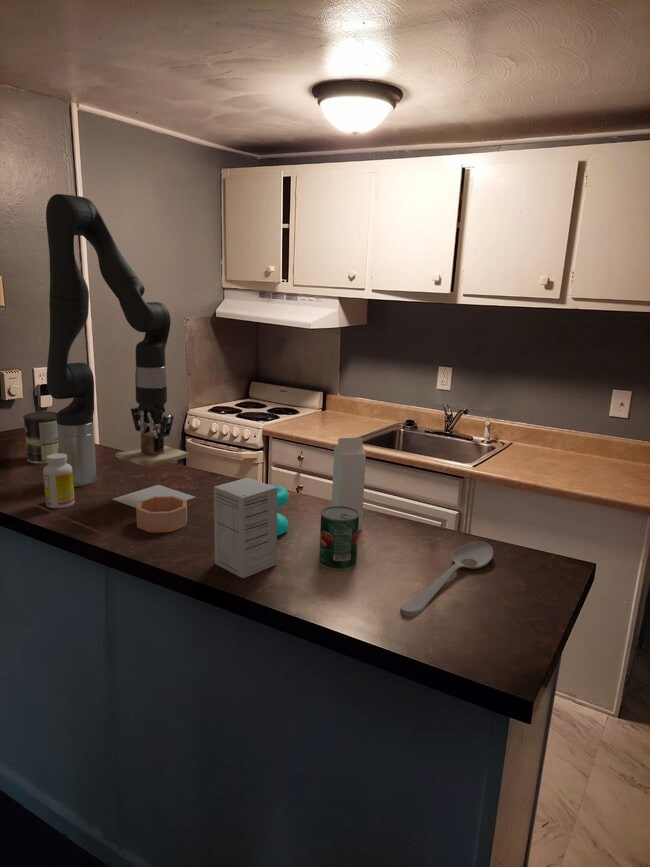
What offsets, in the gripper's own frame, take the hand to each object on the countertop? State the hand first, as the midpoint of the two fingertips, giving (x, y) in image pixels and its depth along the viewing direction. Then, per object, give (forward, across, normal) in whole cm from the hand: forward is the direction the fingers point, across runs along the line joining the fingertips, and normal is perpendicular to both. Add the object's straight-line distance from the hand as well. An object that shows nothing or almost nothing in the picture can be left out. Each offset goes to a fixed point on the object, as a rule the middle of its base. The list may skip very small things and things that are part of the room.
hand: (152, 449), depth 153 cm
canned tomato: (+13, +58, 0) cm, 59 cm away
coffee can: (+15, -53, +2) cm, 55 cm away
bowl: (+13, +15, -10) cm, 22 cm away
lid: (+2, 0, 0) cm, 2 cm away
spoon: (+13, +80, +7) cm, 81 cm away
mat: (+13, 0, 0) cm, 13 cm away
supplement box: (+13, +44, -13) cm, 48 cm away
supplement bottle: (+14, -14, -18) cm, 27 cm away
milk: (+13, +49, +17) cm, 54 cm away
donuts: (+13, +36, +3) cm, 38 cm away
